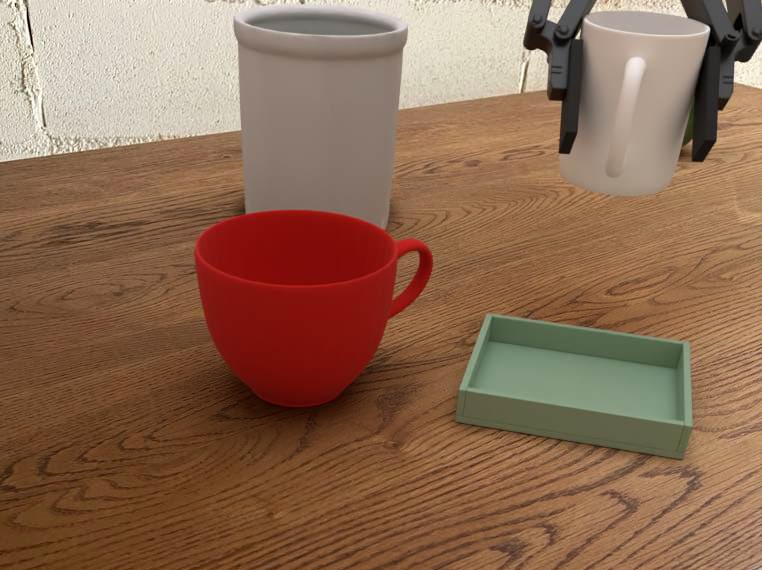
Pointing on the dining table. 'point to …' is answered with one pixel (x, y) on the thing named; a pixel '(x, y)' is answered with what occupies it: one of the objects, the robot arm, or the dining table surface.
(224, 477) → the dining table surface
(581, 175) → the cup
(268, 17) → the utensil holder
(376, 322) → the ceramic cup
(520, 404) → the sage green tray
